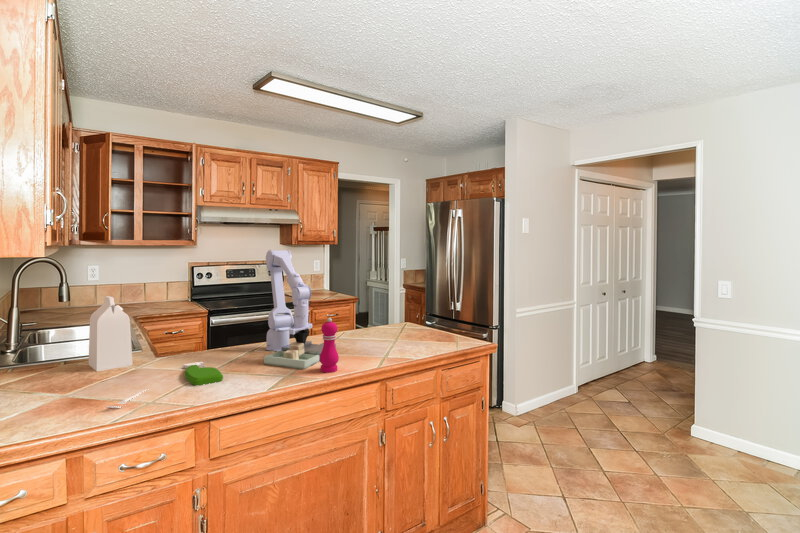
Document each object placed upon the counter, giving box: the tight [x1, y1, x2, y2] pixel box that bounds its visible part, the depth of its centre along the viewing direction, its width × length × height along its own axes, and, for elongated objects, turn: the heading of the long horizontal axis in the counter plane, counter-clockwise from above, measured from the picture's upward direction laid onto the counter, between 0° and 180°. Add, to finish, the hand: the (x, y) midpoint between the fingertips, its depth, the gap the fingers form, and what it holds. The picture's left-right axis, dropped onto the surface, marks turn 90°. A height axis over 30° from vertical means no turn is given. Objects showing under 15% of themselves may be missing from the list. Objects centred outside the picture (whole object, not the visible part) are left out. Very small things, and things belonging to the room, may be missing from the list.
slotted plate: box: [281, 340, 337, 358], centre depth 186 cm, size 18×14×4 cm
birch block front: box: [284, 349, 299, 360], centre depth 174 cm, size 4×4×4 cm
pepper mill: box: [319, 317, 340, 374], centre depth 165 cm, size 7×7×20 cm
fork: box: [105, 388, 148, 409], centre depth 133 cm, size 3×20×2 cm, turn 0°
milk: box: [88, 295, 134, 372], centre depth 166 cm, size 12×12×26 cm
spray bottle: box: [182, 361, 224, 386], centre depth 157 cm, size 3×11×24 cm
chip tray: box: [263, 350, 320, 370], centre depth 174 cm, size 18×11×3 cm, turn 71°
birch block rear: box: [290, 341, 305, 356], centre depth 177 cm, size 4×4×4 cm
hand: (301, 348), depth 180 cm, fingers closed
